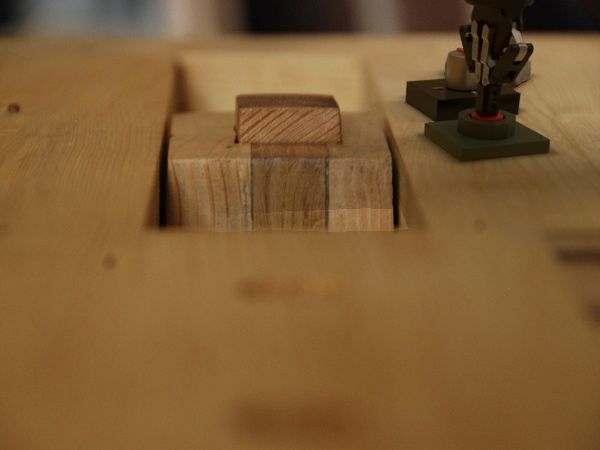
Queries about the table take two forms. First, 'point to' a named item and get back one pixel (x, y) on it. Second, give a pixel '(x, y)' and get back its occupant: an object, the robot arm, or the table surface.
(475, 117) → the button
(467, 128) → the button box
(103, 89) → the table surface
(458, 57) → the dial
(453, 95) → the panel
